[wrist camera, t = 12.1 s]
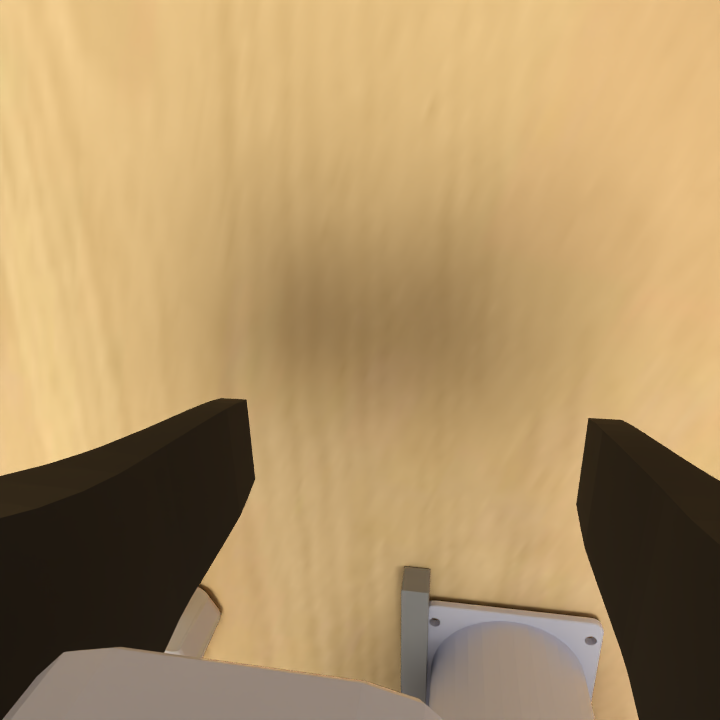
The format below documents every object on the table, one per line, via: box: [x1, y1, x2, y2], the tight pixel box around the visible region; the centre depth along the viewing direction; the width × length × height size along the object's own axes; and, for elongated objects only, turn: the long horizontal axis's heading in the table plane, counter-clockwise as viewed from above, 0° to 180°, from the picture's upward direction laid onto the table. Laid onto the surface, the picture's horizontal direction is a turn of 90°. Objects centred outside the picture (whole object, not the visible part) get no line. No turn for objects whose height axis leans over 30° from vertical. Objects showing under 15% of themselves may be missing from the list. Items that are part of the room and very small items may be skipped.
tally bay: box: [401, 567, 430, 704], centre depth 29 cm, size 13×26×2 cm, turn 92°
